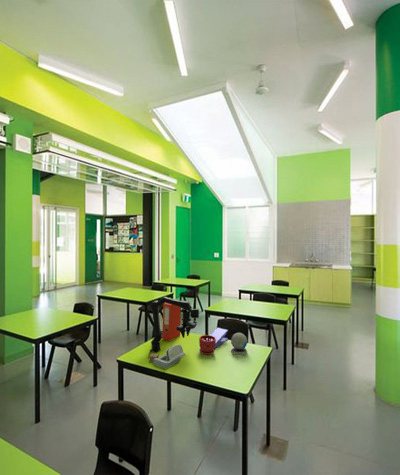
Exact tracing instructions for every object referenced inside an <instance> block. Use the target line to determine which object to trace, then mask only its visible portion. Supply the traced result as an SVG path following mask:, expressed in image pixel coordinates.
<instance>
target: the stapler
mask: <svg viewBox="0 0 400 475" xmlns="http://www.w3.org/2000/svg"><path fill="white" fill-rule="evenodd" d="M228 332H229V330H228V329H225V328H221V327H216V329H214V331H212V332H211V333H210V334H209V335H210V336H213V337H215V338H216V343H215V347H214V350H215V349H217V348H219V347H220V346H222V345H223V344H224V343H225V342H227V341H228V340H229V338H227V337H225V336H226V335H227V334H228ZM207 340H208V338H207ZM209 340H210V339H209ZM211 341H213V340H212V339H211Z"/></svg>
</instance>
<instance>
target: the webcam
mask: <svg viewBox="0 0 400 475" xmlns="http://www.w3.org/2000/svg"><path fill="white" fill-rule="evenodd" d="M230 342H231V345H232V348H231V349H230V352H231V353H232V354H234V355H235V356H236V355H237V356H242V355H243V354H244V355H246V354H248V350H247V348H246V346H247V345H248V339H247V336H246V335H245V334H244V333H242V332H236V333H234V334H232V336H231V338H230ZM244 355H243V356H244Z"/></svg>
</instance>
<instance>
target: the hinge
mask: <svg viewBox="0 0 400 475" xmlns="http://www.w3.org/2000/svg"><path fill="white" fill-rule="evenodd" d="M165 354H166V358H167V359H166V362H168V361H170V360H171V359H173V358H175V357H177V356H180V359H182V358H183V357H185V356H186V353H185V351H184V349H183V346H182V345H181V344H173V345H171V346H170V347H168V348H167V349H166V351H165Z"/></svg>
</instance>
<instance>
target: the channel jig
mask: <svg viewBox="0 0 400 475" xmlns="http://www.w3.org/2000/svg"><path fill="white" fill-rule="evenodd" d="M180 361H181V358H180V356H177V357H175V358H173V359H171V360H170V361H167V358H166V353H165V354H163V355H161V356H159V358H155V359H154V362H153V365H154V366H156V367H160V368H163V369H165V370H166V369H169V368H170V367H172V366H173V365H175V364H176V363H178V362H180Z"/></svg>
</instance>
